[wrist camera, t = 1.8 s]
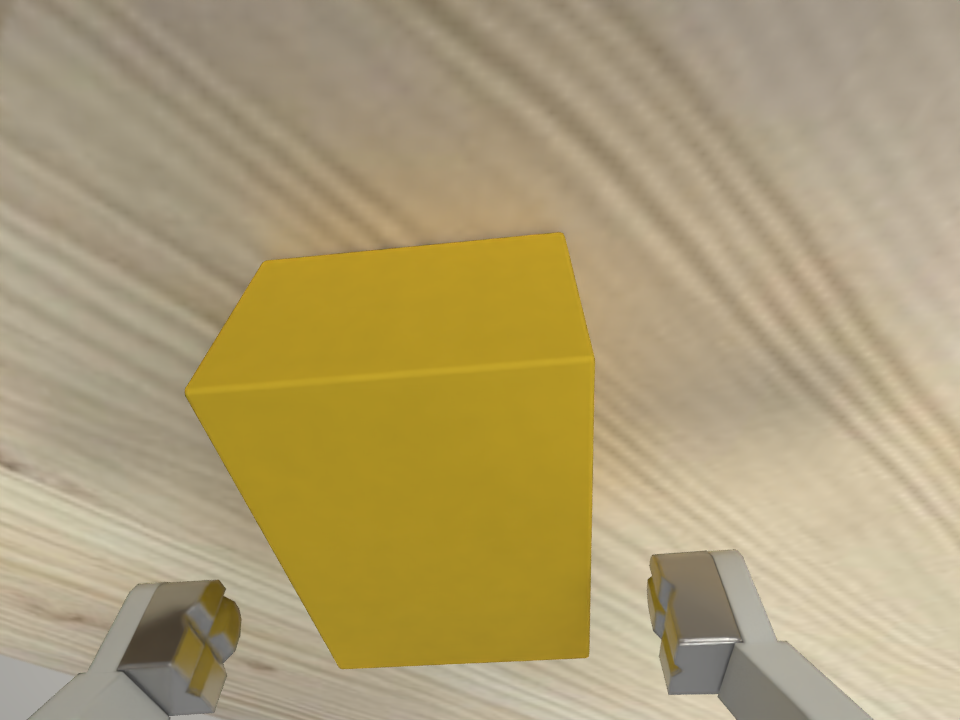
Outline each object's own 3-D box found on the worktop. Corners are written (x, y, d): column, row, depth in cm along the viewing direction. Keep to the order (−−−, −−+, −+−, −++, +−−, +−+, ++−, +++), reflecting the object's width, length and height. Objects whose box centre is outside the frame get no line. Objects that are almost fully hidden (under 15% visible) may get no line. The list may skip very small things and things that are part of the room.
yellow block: (261, 259, 12) (178, 391, 8) (564, 229, 11) (596, 358, 8) (365, 530, 17) (338, 671, 14) (569, 517, 17) (590, 659, 14)
